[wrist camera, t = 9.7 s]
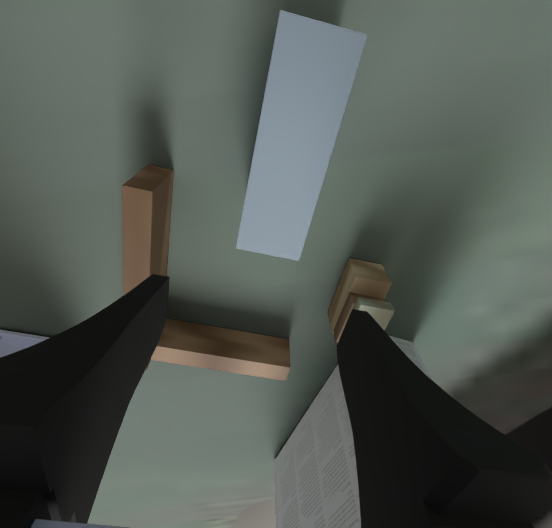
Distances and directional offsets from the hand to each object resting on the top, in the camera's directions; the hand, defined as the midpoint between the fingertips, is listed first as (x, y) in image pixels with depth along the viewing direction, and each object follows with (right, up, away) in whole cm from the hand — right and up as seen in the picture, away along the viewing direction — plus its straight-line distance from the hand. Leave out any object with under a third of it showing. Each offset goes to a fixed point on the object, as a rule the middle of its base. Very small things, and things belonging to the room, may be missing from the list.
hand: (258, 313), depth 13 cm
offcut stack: (+7, 0, +12) cm, 13 cm away
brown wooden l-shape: (-3, +1, +11) cm, 12 cm away
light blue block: (+1, +10, +6) cm, 12 cm away
